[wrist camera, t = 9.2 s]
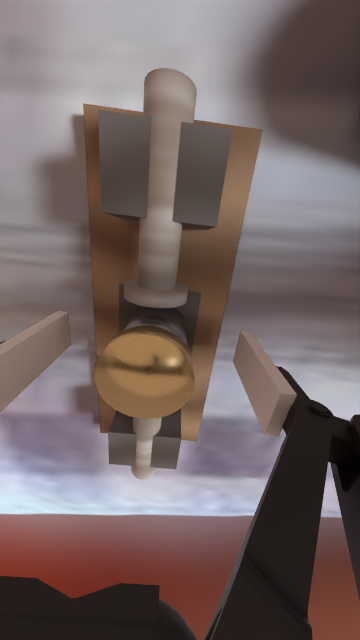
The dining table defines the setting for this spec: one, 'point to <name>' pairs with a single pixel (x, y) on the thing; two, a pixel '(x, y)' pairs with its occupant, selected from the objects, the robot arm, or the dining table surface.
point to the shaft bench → (192, 259)
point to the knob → (147, 365)
